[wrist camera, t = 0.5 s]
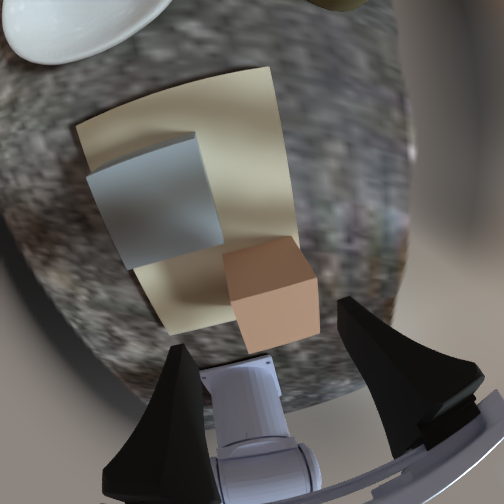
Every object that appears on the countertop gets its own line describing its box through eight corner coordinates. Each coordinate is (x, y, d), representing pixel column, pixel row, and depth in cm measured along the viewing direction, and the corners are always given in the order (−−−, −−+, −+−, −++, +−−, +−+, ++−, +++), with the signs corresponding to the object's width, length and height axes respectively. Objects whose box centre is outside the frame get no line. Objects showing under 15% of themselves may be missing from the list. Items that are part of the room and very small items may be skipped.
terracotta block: (298, 288, 22) (319, 333, 18) (238, 305, 22) (249, 354, 18) (291, 235, 20) (316, 277, 15) (222, 254, 19) (230, 301, 15)
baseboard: (302, 292, 24) (317, 324, 21) (170, 327, 23) (168, 362, 20) (265, 68, 14) (283, 60, 11) (81, 124, 14) (53, 133, 10)
